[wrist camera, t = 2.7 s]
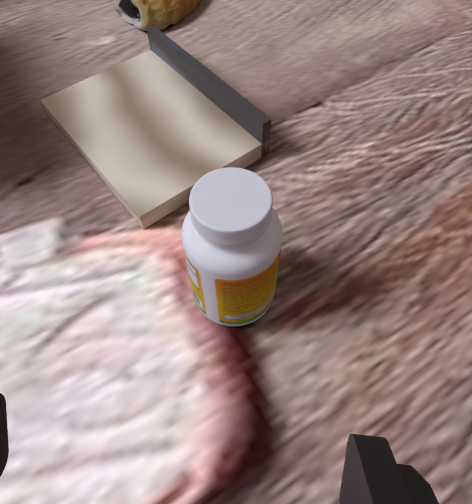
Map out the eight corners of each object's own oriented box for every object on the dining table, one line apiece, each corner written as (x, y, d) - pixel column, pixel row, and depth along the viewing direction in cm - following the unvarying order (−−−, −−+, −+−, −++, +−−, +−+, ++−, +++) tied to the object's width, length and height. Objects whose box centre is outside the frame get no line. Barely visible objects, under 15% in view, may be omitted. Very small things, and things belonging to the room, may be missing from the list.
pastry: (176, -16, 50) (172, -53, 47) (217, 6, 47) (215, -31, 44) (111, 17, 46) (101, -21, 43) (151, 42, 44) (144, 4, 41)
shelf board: (162, 59, 42) (156, 24, 39) (271, 151, 35) (273, 117, 32) (46, 113, 38) (30, 79, 35) (143, 229, 31) (133, 198, 28)
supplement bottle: (288, 277, 29) (307, 180, 21) (249, 343, 26) (253, 264, 18) (220, 244, 30) (212, 141, 22) (177, 304, 28) (150, 214, 20)
